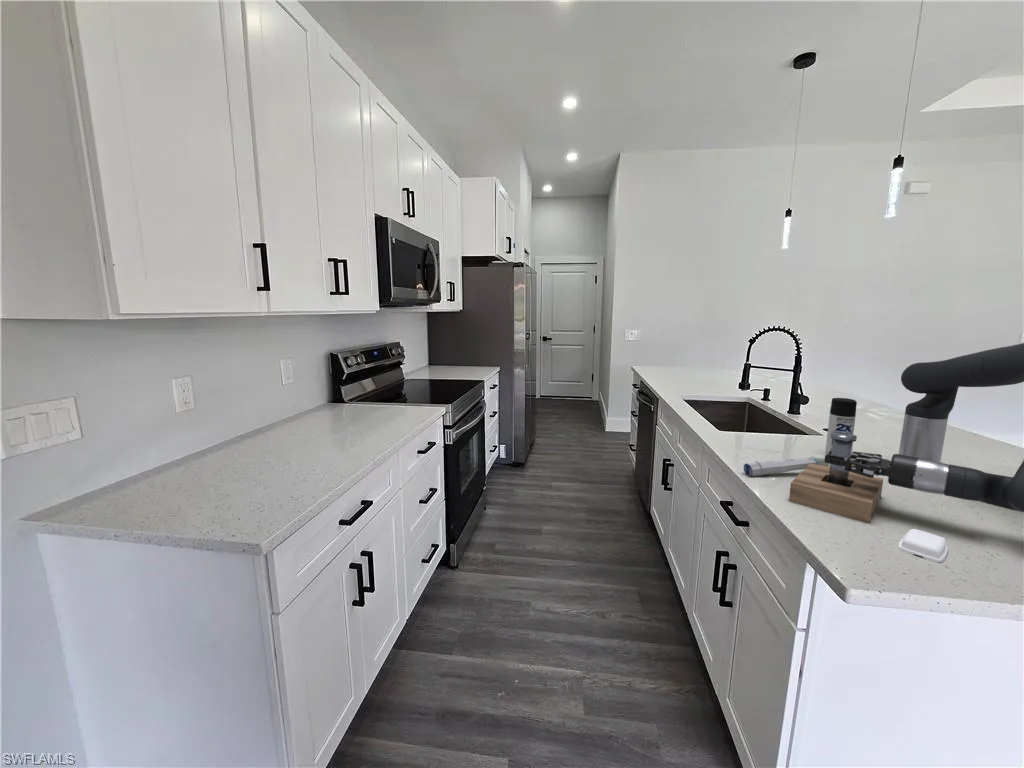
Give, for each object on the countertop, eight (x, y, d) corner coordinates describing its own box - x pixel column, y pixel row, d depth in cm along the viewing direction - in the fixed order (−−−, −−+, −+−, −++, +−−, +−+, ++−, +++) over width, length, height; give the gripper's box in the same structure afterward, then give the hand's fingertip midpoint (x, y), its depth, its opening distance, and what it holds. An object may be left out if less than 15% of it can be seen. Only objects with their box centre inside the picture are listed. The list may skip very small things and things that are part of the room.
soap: (941, 566, 80) (944, 552, 80) (895, 550, 86) (897, 537, 85) (949, 550, 86) (952, 537, 85) (905, 536, 91) (907, 524, 91)
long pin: (826, 488, 112) (833, 430, 109) (850, 493, 108) (858, 434, 105) (821, 493, 108) (828, 434, 106) (846, 500, 105) (854, 439, 102)
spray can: (828, 460, 136) (835, 400, 133) (821, 453, 143) (828, 396, 139) (853, 462, 134) (861, 402, 130) (845, 456, 140) (853, 398, 137)
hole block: (808, 479, 121) (810, 463, 120) (880, 496, 109) (883, 478, 109) (788, 500, 108) (790, 482, 107) (869, 523, 96) (872, 502, 95)
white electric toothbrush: (741, 460, 127) (823, 448, 126) (742, 480, 128) (824, 469, 127) (751, 466, 121) (837, 454, 121) (752, 487, 123) (837, 476, 122)
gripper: (922, 451, 100) (834, 436, 113) (918, 466, 91) (822, 448, 103) (917, 480, 102) (831, 463, 114) (912, 498, 92) (818, 477, 105)
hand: (827, 456), depth 109 cm, fingers closed on long pin, 4 cm apart
